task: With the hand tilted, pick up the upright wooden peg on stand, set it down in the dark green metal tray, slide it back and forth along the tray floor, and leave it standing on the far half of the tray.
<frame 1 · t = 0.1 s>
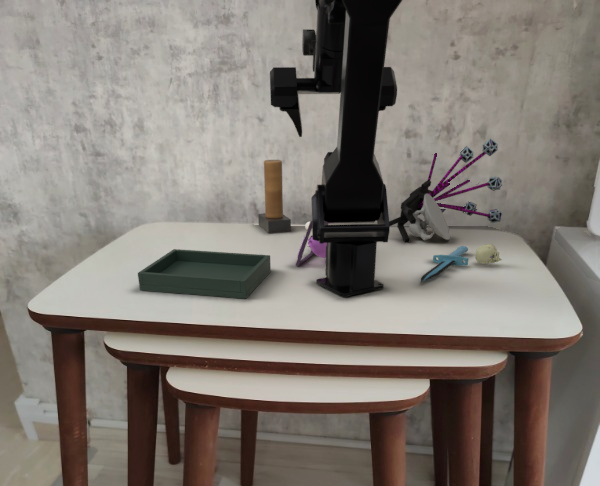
hand: (328, 134, 98), 15 cm above the table, tool tilted 35°, fingers open, 9 cm apart
knife: (426, 262, 85), point 1 cm above the table
wooden peg on stand: (274, 228, 105), on the table
miniature: (439, 215, 96), point 4 cm above the table, touching decorative piece
decorative piece: (373, 233, 94), point 2 cm above the table, touching miniature
tray: (208, 280, 80), on the table
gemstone: (485, 265, 86), on the table
purple triangular frame ornament: (321, 261, 89), on the table
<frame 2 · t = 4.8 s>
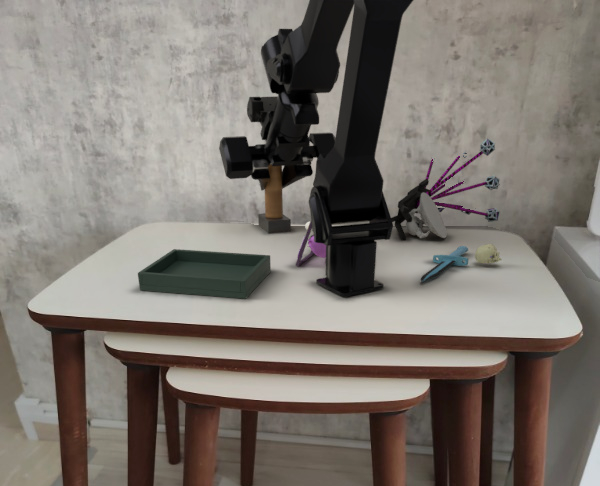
hand: (271, 187, 103), 7 cm above the table, tool tilted 45°, fingers closed on wooden peg on stand, 3 cm apart
wooden peg on stand: (274, 228, 105), on the table, touching gripper
miniature: (435, 214, 97), point 4 cm above the table, touching decorative piece
decorative piece: (369, 231, 96), point 2 cm above the table, touching miniature
everything else where it was.
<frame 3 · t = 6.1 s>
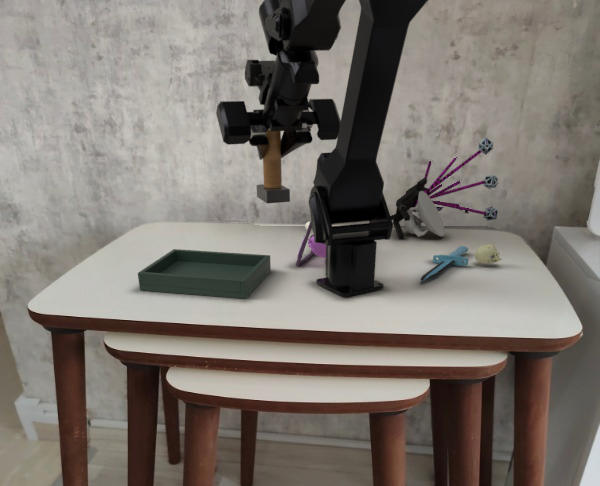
hand: (269, 156, 100), 11 cm above the table, tool tilted 45°, fingers closed on wooden peg on stand, 3 cm apart
wooden peg on stand: (273, 199, 102), point 5 cm above the table, touching gripper
when the fingers open (7 cm above the table, at t = 15.2 s): wooden peg on stand stays where it is, resting on tray.
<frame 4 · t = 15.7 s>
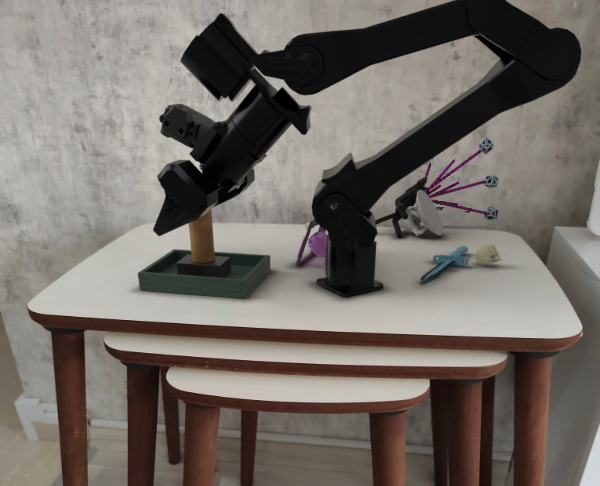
hand: (171, 224, 78), 7 cm above the table, tool tilted 45°, fingers open, 9 cm apart
wooden peg on stand: (204, 274, 80), point 1 cm above the table, touching tray
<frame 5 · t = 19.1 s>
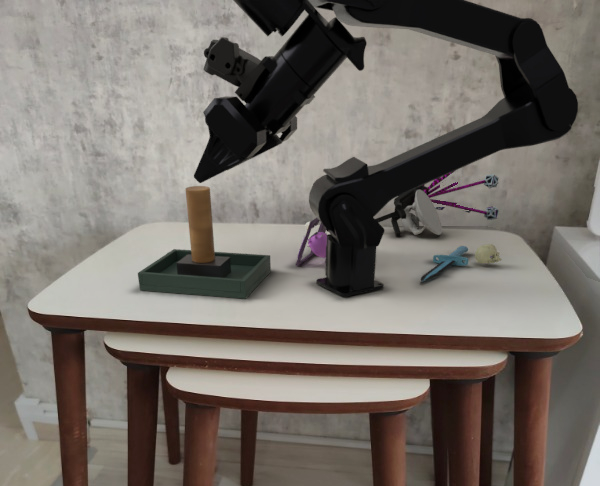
hand: (211, 173, 73), 14 cm above the table, tool tilted 45°, fingers open, 9 cm apart
at the end: wooden peg on stand 1.5 cm from the target spot in the tray, point 0.8 cm above the tray's base; wooden peg on stand tilted 0°; the gripper is holding nothing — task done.
